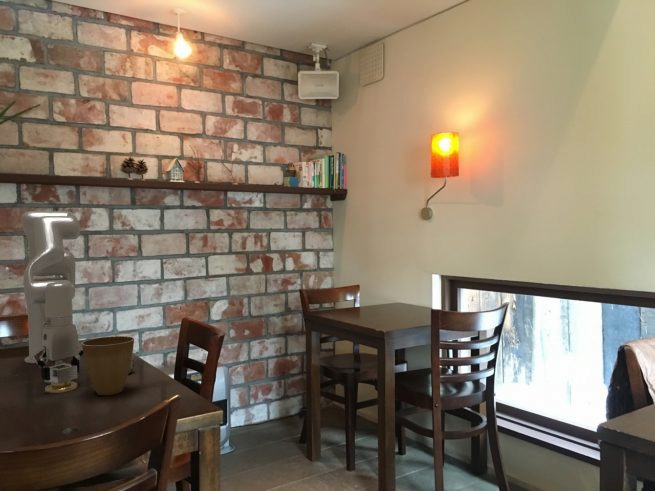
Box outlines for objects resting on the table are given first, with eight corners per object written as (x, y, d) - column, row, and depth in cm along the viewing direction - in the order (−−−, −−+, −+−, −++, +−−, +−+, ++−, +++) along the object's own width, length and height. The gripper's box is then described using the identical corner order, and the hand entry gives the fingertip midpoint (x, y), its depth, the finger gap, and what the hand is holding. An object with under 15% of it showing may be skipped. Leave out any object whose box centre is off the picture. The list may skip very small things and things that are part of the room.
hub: (56, 384, 171) (55, 365, 171) (82, 384, 170) (82, 365, 170) (38, 393, 162) (38, 373, 162) (66, 393, 161) (66, 373, 161)
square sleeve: (45, 380, 165) (45, 367, 165) (64, 375, 171) (64, 363, 171) (57, 383, 162) (57, 370, 162) (77, 378, 167) (76, 365, 167)
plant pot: (145, 388, 165) (144, 338, 165) (104, 402, 152) (102, 347, 152) (114, 382, 173) (113, 333, 172) (72, 394, 160) (71, 342, 160)
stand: (54, 375, 182) (54, 357, 182) (79, 375, 181) (79, 358, 181) (38, 383, 173) (37, 364, 173) (64, 383, 172) (63, 364, 172)
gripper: (39, 327, 156) (41, 384, 157) (91, 318, 171) (93, 370, 172) (24, 325, 160) (26, 381, 161) (77, 316, 175) (78, 368, 175)
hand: (61, 376), depth 166 cm, fingers open, 9 cm apart
